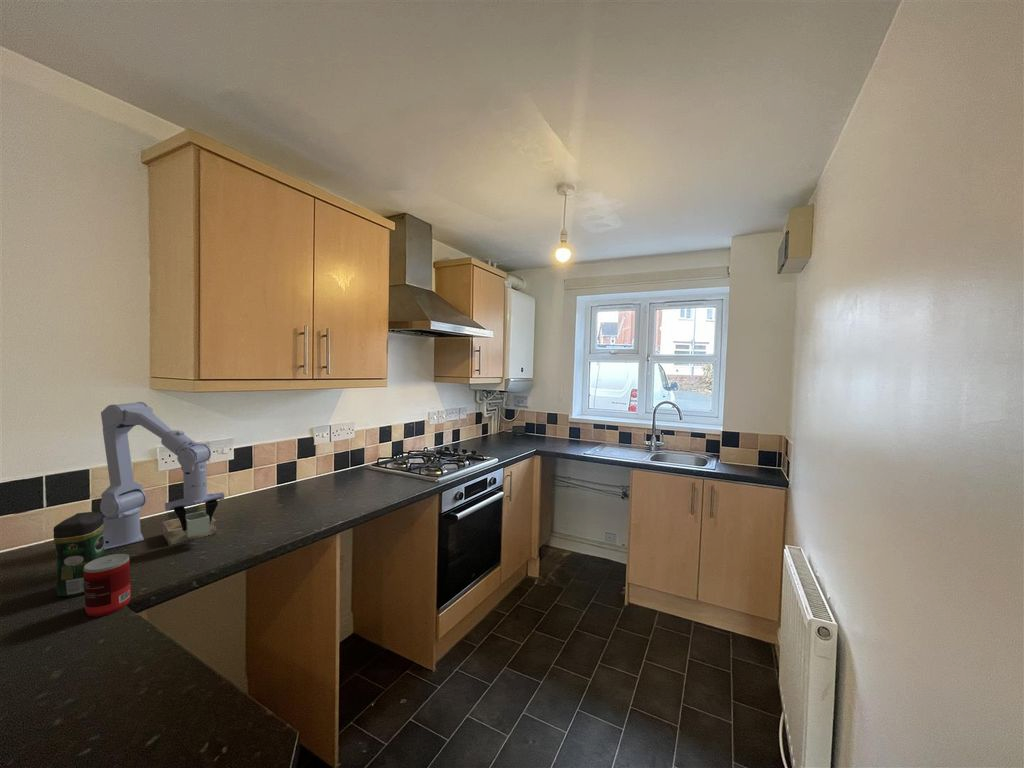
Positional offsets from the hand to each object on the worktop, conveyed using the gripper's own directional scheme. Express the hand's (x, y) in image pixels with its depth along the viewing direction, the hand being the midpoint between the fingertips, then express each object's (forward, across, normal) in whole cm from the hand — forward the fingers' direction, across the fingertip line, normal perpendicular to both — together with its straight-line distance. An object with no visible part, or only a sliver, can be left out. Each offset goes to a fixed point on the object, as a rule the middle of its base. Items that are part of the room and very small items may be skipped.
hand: (196, 527), depth 128 cm
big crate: (+6, 0, +11) cm, 12 cm away
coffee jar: (+6, -25, -9) cm, 27 cm away
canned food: (+6, -21, -25) cm, 33 cm away
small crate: (+1, 0, 0) cm, 1 cm away
